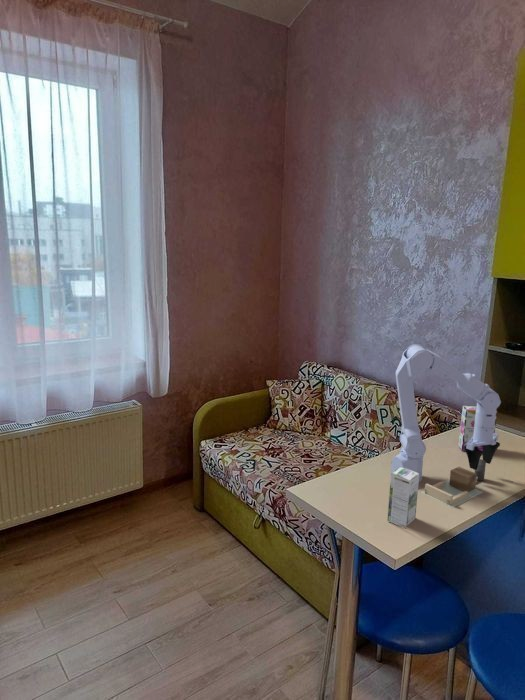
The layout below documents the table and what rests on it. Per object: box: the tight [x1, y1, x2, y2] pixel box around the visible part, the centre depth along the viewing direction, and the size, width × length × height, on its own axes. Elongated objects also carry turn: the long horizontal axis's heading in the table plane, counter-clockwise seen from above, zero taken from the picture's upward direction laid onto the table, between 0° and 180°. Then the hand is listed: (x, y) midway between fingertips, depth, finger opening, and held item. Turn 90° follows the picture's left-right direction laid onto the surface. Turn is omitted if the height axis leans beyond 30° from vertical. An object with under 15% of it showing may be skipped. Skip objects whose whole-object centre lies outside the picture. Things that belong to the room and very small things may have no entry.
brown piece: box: [449, 458, 487, 492], centre depth 154 cm, size 13×6×6 cm, turn 125°
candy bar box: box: [457, 405, 498, 452], centre depth 180 cm, size 11×5×16 cm, turn 84°
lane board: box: [420, 478, 484, 509], centre depth 149 cm, size 16×11×4 cm
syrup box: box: [387, 467, 420, 529], centre depth 133 cm, size 6×6×14 cm
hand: (480, 465), depth 156 cm, fingers open, 7 cm apart
